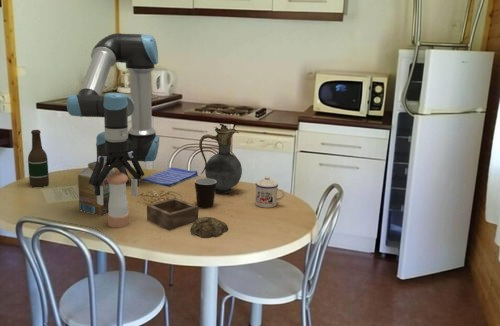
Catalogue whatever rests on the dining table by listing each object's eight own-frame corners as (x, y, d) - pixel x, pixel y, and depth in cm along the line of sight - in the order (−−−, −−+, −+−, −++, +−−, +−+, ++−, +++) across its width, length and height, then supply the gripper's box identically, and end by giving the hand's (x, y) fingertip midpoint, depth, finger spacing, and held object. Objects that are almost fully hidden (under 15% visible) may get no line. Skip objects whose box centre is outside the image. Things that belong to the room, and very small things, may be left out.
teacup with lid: (252, 206, 192) (253, 178, 189) (257, 199, 201) (258, 172, 198) (281, 210, 190) (283, 182, 187) (285, 203, 198) (287, 175, 195)
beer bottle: (36, 182, 210) (32, 128, 204) (52, 183, 209) (49, 129, 203) (25, 187, 203) (21, 131, 197) (43, 188, 202) (39, 132, 196)
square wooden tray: (147, 219, 174) (146, 205, 172) (175, 211, 183) (175, 197, 182) (169, 230, 165) (169, 215, 164) (198, 221, 175) (198, 206, 173)
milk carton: (99, 202, 189) (97, 155, 184) (120, 207, 184) (119, 159, 180) (79, 210, 180) (77, 161, 175) (101, 216, 175) (99, 165, 170)
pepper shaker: (132, 225, 168) (131, 172, 163) (111, 229, 164) (110, 175, 159) (125, 218, 174) (123, 167, 169) (105, 222, 170) (103, 169, 165)
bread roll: (200, 222, 174) (201, 209, 173) (231, 228, 170) (232, 215, 169) (182, 234, 163) (182, 220, 162) (215, 241, 158) (215, 227, 157)
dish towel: (199, 176, 232) (199, 170, 231) (169, 188, 212) (169, 182, 211) (170, 170, 240) (170, 165, 239) (139, 181, 219) (139, 176, 219)
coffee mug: (212, 210, 186) (213, 185, 184) (191, 207, 188) (191, 183, 185) (220, 200, 197) (221, 177, 195) (200, 198, 199) (200, 175, 196)
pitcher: (237, 197, 202) (239, 127, 195) (194, 192, 207) (195, 123, 199) (243, 189, 213) (246, 123, 205) (202, 185, 217) (204, 119, 209)
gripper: (88, 146, 150) (90, 210, 155) (153, 137, 168) (153, 195, 173) (76, 142, 155) (78, 204, 160) (141, 134, 173) (141, 190, 178)
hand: (117, 200), depth 166 cm, fingers open, 13 cm apart
